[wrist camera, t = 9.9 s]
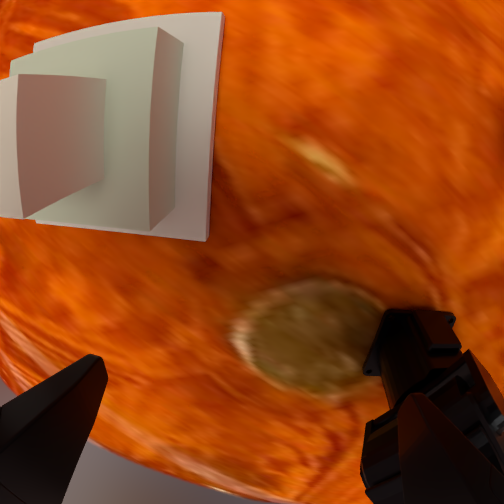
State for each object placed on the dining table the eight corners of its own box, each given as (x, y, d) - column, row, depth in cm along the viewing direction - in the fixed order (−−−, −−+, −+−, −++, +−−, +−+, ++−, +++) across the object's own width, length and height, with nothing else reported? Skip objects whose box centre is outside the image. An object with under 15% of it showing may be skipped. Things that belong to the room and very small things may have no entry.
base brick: (174, 207, 19) (149, 231, 15) (50, 199, 19) (15, 217, 15) (183, 43, 14) (158, 26, 11) (50, 63, 15) (11, 60, 11)
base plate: (209, 235, 20) (205, 241, 19) (43, 218, 21) (36, 222, 20) (225, 16, 14) (221, 11, 13) (42, 44, 15) (34, 43, 14)
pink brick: (104, 178, 14) (23, 219, 9) (35, 177, 14) (-42, 212, 9) (106, 79, 12) (18, 74, 6) (34, 91, 12) (-49, 100, 7)
